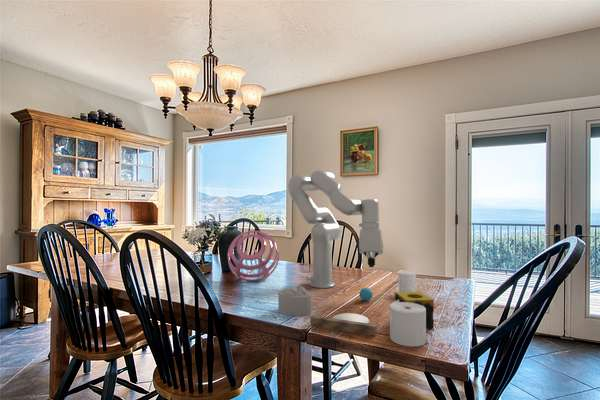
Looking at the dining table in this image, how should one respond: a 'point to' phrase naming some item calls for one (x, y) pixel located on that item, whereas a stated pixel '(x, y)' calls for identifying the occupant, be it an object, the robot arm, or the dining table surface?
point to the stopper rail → (344, 325)
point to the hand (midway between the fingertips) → (371, 266)
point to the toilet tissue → (407, 323)
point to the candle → (421, 300)
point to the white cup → (406, 281)
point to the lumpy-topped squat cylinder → (294, 301)
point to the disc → (352, 317)
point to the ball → (365, 294)
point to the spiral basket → (253, 257)
